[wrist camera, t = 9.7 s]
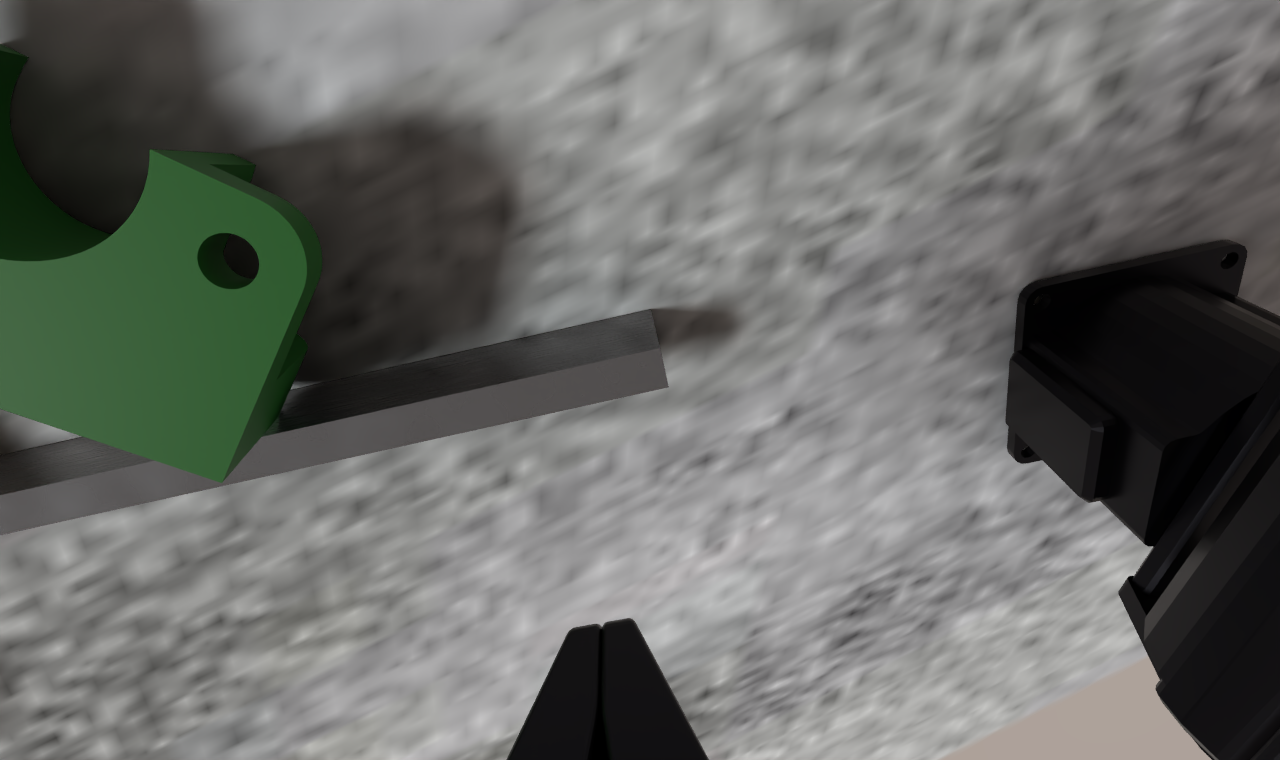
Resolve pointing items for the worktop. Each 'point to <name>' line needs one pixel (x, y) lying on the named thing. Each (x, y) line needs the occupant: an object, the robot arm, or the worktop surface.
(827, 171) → the worktop surface
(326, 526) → the worktop surface
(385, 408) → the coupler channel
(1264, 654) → the robot arm
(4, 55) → the clamp
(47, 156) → the worktop surface
